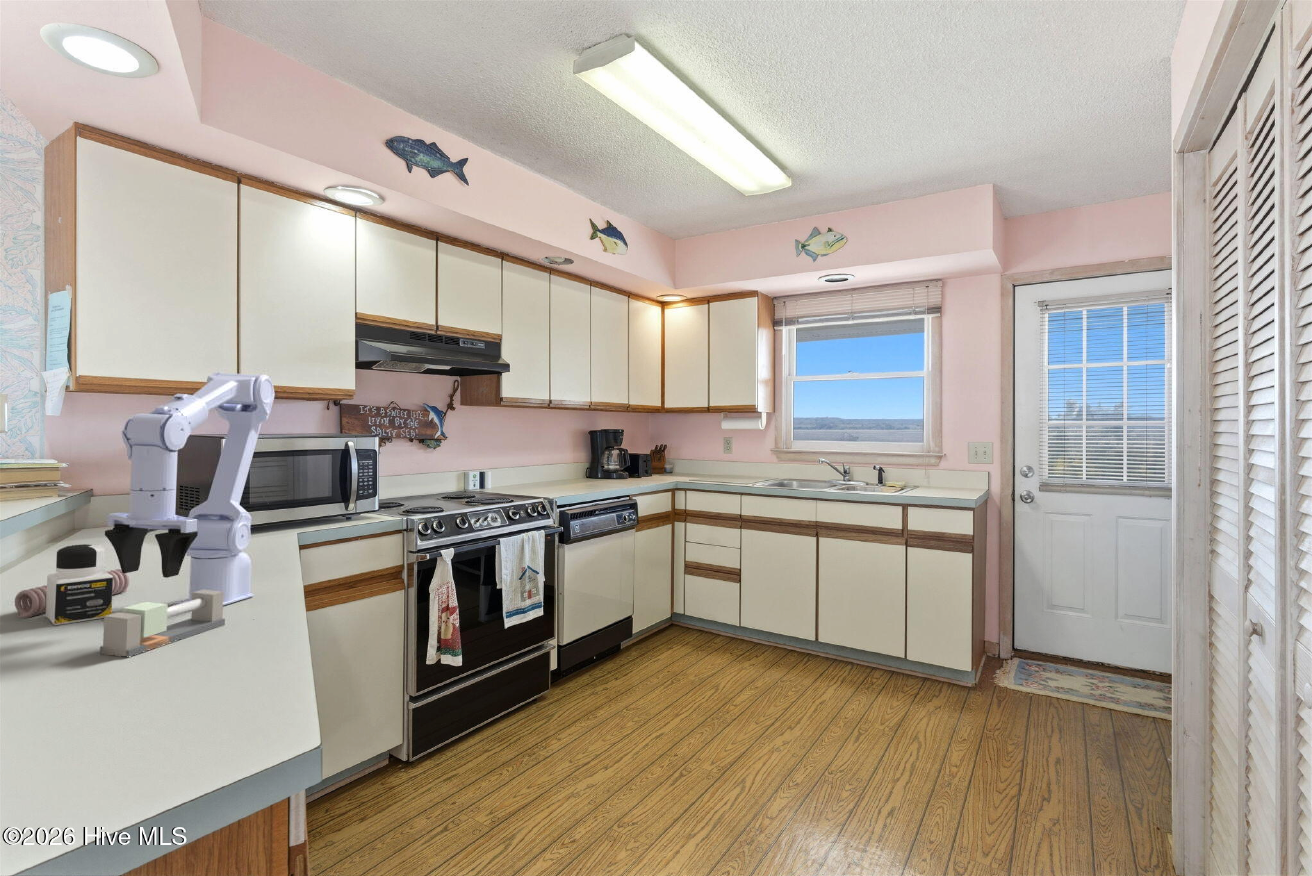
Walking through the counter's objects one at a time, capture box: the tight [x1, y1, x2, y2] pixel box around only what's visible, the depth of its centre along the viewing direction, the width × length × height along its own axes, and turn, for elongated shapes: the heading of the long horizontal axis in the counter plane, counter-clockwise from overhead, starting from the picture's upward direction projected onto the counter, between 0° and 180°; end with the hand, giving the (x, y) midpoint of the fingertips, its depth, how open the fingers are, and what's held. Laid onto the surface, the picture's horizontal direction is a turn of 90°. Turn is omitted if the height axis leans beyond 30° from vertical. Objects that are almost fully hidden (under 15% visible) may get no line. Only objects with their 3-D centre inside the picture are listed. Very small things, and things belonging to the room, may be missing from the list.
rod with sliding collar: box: [99, 590, 226, 658], centre depth 97 cm, size 16×5×6 cm, turn 170°
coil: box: [14, 568, 130, 619], centre depth 112 cm, size 5×5×18 cm
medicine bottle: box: [45, 543, 113, 626], centre depth 105 cm, size 7×7×12 cm
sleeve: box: [121, 601, 169, 638], centre depth 93 cm, size 4×4×4 cm
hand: (150, 574), depth 99 cm, fingers open, 7 cm apart
